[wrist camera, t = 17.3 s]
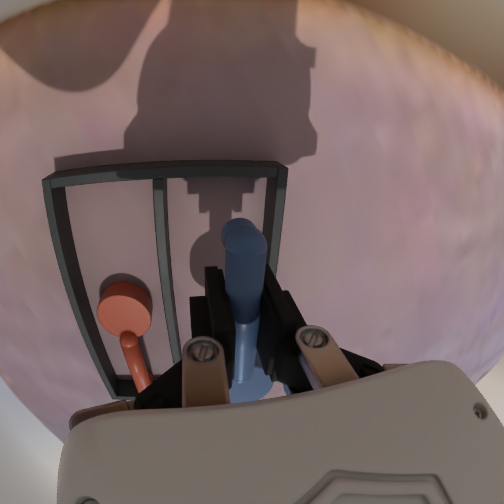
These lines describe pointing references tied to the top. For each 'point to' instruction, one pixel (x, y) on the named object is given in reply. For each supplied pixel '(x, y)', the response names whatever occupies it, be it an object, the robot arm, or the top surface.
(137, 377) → the terracotta spoon
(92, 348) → the sorting tray
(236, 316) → the blue spoon
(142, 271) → the top surface
